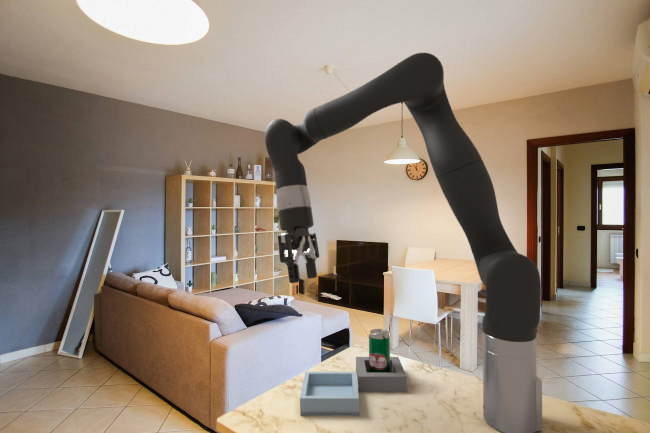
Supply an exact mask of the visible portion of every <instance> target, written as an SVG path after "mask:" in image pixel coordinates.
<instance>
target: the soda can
mask: <svg viewBox="0 0 650 433" xmlns="http://www.w3.org/2000/svg"><path fill="white" fill-rule="evenodd" d="M390 338H391V336H390V334H389V331H388V330H387V329H383V328H373V329H371V330H370V333H369V334H368V357H369V373H390V357H391V341H390V340H391V339H390Z"/></svg>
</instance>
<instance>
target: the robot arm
mask: <svg viewBox="0 0 650 433" xmlns="http://www.w3.org/2000/svg"><path fill="white" fill-rule="evenodd" d="M441 62H442V61H441V60H439V58H438V57H437V56H435V55H434V54H432V53H430V52H429V53H428V52H417V53H414V54H412V55H409V56H407V57H406V58H405V59H403V60H401V61H400V62H398V63H396V64H395V65H393V66H392V67H391V68H389V69H387V70H386V71H385V72H383V73H381V74H380V75H378V76H376V77H375V78H373V79H371V80H370V81H367V82H366V83H364V84H363V85H361V86H359V87H357V88H356V89H354V90H352V91H349V92H347V93H346V94H344V95H341V96H339V97H337V98H335V99H332V100H330V101H328V102H325V103H323V104H321V105H318V106H316V107H313V108H312V109H310V110H308V111H307V112H306V113H305V114H304V117H303V121H301V122H300V123H298V124H295V125H294V124H293V123H291V122H290V121H289V120H286V119H283V118H276V119H273V120H271V121H270V122H269V123H268V124H267V126H266V129H265V131H264V143H265V144H264V145H265V147H266V152H267V154H268V157H269V161H270V164H271V166H272V169H273V171H274V179H275V180H274V181H275V187H276V190H275V191H276V206H277V212H278V213H277V215H278V219H279V221H278V222H279V228H280V230H281V231H282V232H284V233H279V234H278V235H277V242H278V244H277V245H278V252H279V262H280V263H281V264H282V263H283V264H284V265H285V266H286V267H287V273H288V280H289V281H288V282H289V283H290V284H295V283H300V281H301V277H300V270H299V269H300V268H299V264H298V262H299V259H300V258H299V257H300V256H302V257H303V259H304V261H305V270H306V276H307V277H306V278H308V279H309V280H310V279H315V278H317V277H318V271H317V266H316V261H317V259H319V258H320V251H319V246H318V240H317V234H316V233H315V232H313V233H310V231H309V229H310V228H312V227H314V217H313V210H312V203H311V196H310V192H309V189H308V188H309V187H308V182H307V175H306V169H305V166H304V164H303V163H302V162H301V160H300V159H299V157H298V155H300V154H303V153H304V152H306V151H307V150H309V149H310V148H311V149H312V147H314V146H316V145H317V144H318V143H319V142H321V141H322V140H325V139H327V138H331V137H333V136H336V135H338V134H340V133H343V132H344V131H348V130H349V129H351V128H353V127H354V126H356V125H358V124H359V123H361V122H362V121H363V120H365V119H366V118H368V117H369V116H371V115H373V114H375V113H377V112H378V111H380V110H384V109H385V108H388V107H390V106H394V105H397V104H400V103H403V104H404V105H405V106H406V108H407V109H408V111H409V113H410V115H411V117H412V118H413V119H414V122H415V123H416V125H417V127H418V128H419V131H420V133H421V134H422V135H421V136H422V137H423V141H424V143H425V147H426V148H425V149H426V151H427V156H428V158H429V161H430V164H431V167H432V169H433V173H434V176H435V178H436V180H437V182H438V184H439V186H440V189H441V192H442V193H443V195H444V198H445V199H446V201H447V204H448V205H449V208H450V209H451V211H452V213H453V216H454V217H455V218H456V220H457V222H458V224H459V226H460V227H461V229H462V231H463V233H464V234H465V237H466V239H467V241H468V244H469V247H470V250H471V253H472V256H473V259H474V262H475V266H476V268H477V272H478V276H479V279H480V281H481V282H482V284H483V285H484V286H485V313H484V315H483V316H482V322H481V323H482V324H481V325H482V385H483V386H482V395H483V396H482V398H483V399H482V400H483V402H482V409H483V419H484V421H485V422H486V423H487V425H489V426H490V427H491V428H493V429H495V430H497V431H499V432H501V433H536V432H543V381H542V379H541V378H540V377H539V376H538V375H537V372H538V371H537V370H538V369H537V329H538V327H539V324H540V320H541V301H542V300H541V299H542V298H541V296H542V292H541V291H542V290H541V288H542V286H541V284H542V283H541V282H542V281H541V276H540V271H539V269H538V267H537V265H536V263H535V262H534V261H533V260H531V258H529V257H528V256H526V255H523V254H521V253H519V252H518V251H517V249H516V248H515V246H514V245H513V243H512V240H511V239H510V238H509V236H508V234H507V232H506V229H505V228H504V226H503V223H502V220H501V217H500V214H499V213H500V212H499V208H498V202H497V196H496V192H495V188H494V184H493V181H492V178H491V176H490V174H489V171H488V169H487V166H486V164H485V163H484V160H483V158H482V156H481V154H480V152H479V151H478V149H477V148H476V146H475V144H474V143H473V142H472V140H471V139H470V137H469V136H468V134H467V132H465V130H464V128H462V126H461V125H460V123H459V121H457V118H456V117H455V114H454V112H453V109H452V106H451V104H450V101H449V97H448V95H447V93H446V89H445V83H444V79H445V76H444V75H445V72H444V71H445V70H444V68H443V65H442V63H441Z"/></svg>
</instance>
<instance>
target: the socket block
mask: <svg viewBox="0 0 650 433" xmlns="http://www.w3.org/2000/svg"><path fill="white" fill-rule="evenodd" d="M355 372H356V378H357V386H358V393H367V392H368V393H371V392H373V393H374V392H375V393H376V392H377V393H378V392H379V393H382V392H383V393H384V392H385V393H392V392H393V393H394V392H396V393H397V392H398V393H399V392H400V393H403V392H404V393H405V392H406V393H407V392H408V386H407V385H408V383H407V382H408V377H407V374H406V372H405V369H404V367H403V365H402V363H401V359H400V357H399V356H390V373H369V356H356V357H355Z"/></svg>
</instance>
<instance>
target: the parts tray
mask: <svg viewBox="0 0 650 433" xmlns="http://www.w3.org/2000/svg"><path fill="white" fill-rule="evenodd" d="M299 414H300V416H332V417H333V416H351V417H352V416H354V417H355V416H356V417H357V416H358V417H359V416H360V395H359V390H358V382H357V374H356V371H305V372H304V377H303V382H302V386H301V392H300V397H299Z"/></svg>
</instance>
